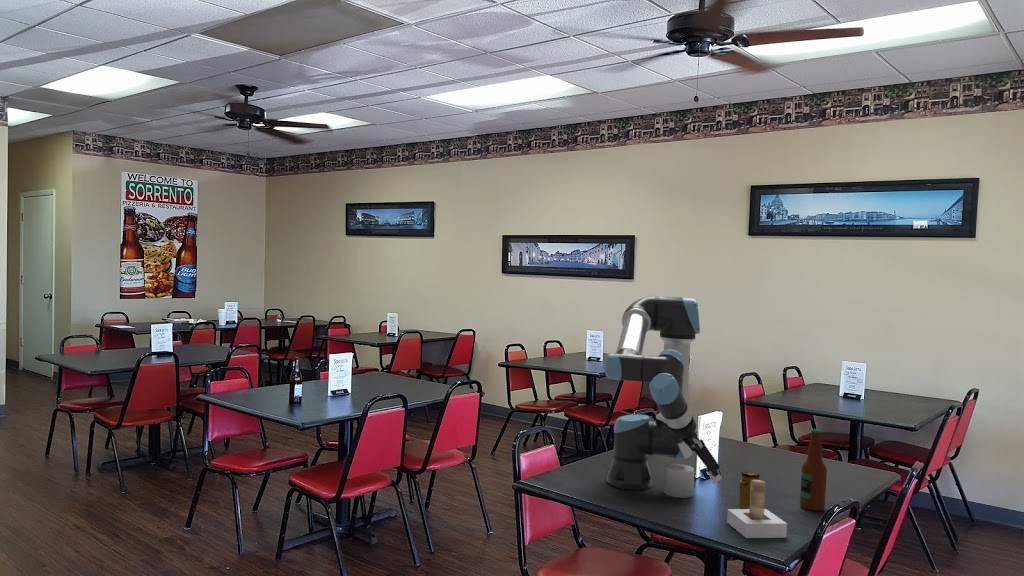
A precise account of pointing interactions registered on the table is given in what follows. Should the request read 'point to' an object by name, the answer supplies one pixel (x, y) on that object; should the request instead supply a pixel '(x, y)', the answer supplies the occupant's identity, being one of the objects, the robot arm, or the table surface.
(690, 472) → the toilet tissue
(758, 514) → the dowel
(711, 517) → the table surface
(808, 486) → the bottle
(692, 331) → the robot arm
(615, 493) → the table surface
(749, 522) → the socket
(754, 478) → the condiment
